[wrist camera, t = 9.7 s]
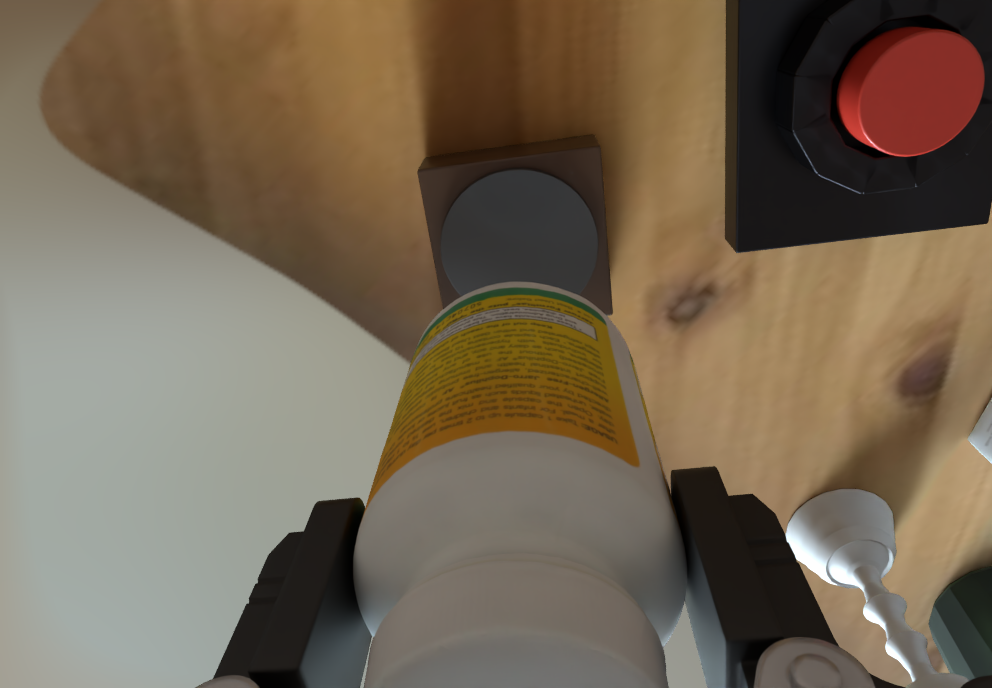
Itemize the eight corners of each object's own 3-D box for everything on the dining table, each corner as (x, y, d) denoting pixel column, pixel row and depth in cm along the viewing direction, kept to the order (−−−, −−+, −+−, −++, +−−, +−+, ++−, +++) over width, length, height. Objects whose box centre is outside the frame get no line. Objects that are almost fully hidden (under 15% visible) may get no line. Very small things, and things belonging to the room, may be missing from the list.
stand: (424, 156, 27) (415, 172, 25) (595, 133, 27) (601, 147, 24) (452, 311, 30) (446, 337, 28) (607, 293, 29) (614, 319, 27)
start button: (839, 35, 22) (863, 39, 20) (961, 18, 22) (995, 20, 20) (831, 152, 24) (853, 164, 22) (945, 137, 23) (975, 148, 22)
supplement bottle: (672, 398, 18) (814, 791, 9) (497, 497, 19) (477, 912, 11) (547, 227, 16) (577, 516, 7) (365, 352, 17) (211, 713, 9)
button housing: (725, -80, 23) (756, -90, 20) (1015, -126, 23) (1094, -144, 19) (724, 239, 28) (749, 271, 25) (963, 211, 27) (1019, 240, 24)
